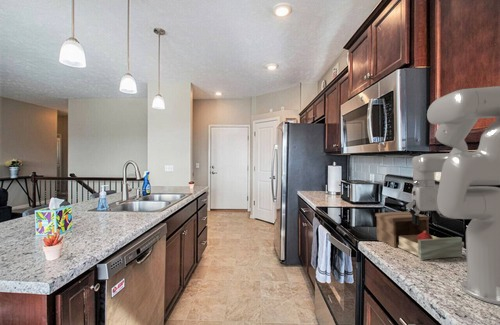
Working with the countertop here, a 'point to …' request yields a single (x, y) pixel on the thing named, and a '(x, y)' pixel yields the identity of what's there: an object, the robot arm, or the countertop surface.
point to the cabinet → (398, 226)
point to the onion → (424, 236)
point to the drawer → (431, 246)
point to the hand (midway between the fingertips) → (426, 223)
